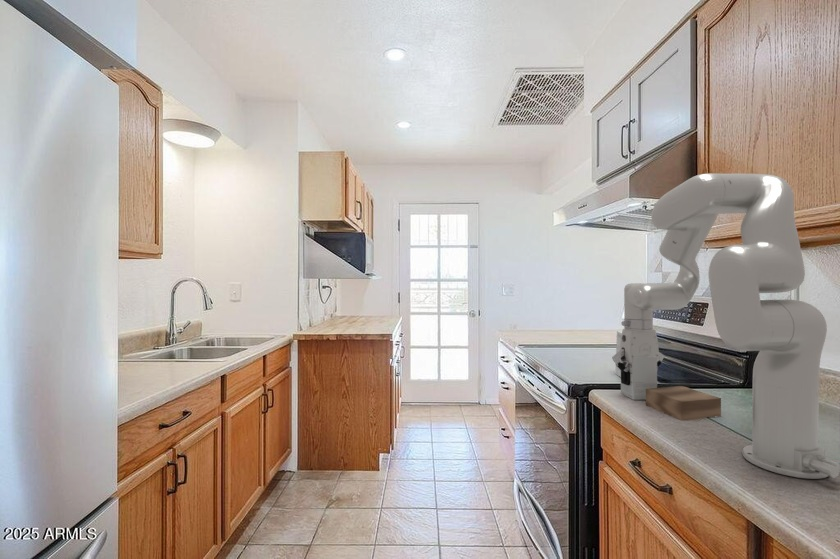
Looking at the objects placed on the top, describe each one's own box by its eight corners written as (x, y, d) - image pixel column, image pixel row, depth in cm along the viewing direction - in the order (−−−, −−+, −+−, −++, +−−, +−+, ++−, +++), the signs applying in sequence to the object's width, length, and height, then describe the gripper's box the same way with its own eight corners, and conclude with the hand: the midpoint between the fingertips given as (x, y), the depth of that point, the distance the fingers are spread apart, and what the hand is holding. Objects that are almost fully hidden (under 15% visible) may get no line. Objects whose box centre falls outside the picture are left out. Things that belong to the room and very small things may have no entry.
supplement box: (643, 392, 127) (643, 351, 127) (658, 400, 120) (658, 356, 119) (619, 392, 127) (619, 352, 127) (632, 400, 120) (632, 356, 119)
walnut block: (721, 417, 106) (721, 398, 106) (681, 421, 103) (681, 401, 103) (682, 403, 118) (682, 385, 118) (645, 406, 115) (645, 388, 115)
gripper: (620, 327, 118) (620, 388, 118) (673, 325, 121) (673, 385, 121) (604, 324, 125) (604, 381, 125) (654, 322, 128) (654, 378, 128)
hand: (638, 383), depth 123 cm, fingers closed on supplement box, 7 cm apart
